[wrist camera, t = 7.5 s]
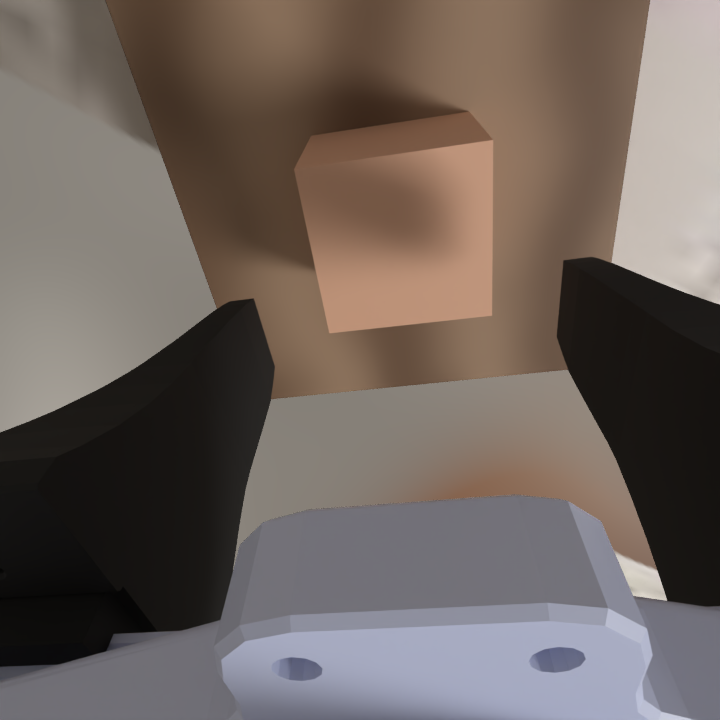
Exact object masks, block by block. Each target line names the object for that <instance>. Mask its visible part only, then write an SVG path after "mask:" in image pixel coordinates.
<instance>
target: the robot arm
mask: <svg viewBox="0 0 720 720" xmlns="http://www.w3.org/2000/svg"><path fill="white" fill-rule="evenodd" d="M557 339H558V342H559V345H560V348H561V351H562V354H563V357H564V360H565V363H566V365H567V368H568V370H569V373H570V374H571V376H572V378H573V380H574V382H575V384H576V386H577V387H578V389H579V391H580V393H581V395H582V397H583V399H584V401H585V402H586V404H587V406H588V408H589V410H590V411H591V413H592V415H593V417H594V419H595V420H596V422H597V424H598V426H599V428H600V429H601V431H602V433H603V435H604V437H605V439H606V440H607V442H608V444H609V446H610V448H611V450H612V452H613V454H614V456H615V458H616V460H617V463H618V465H619V468H620V470H621V473H622V475H623V478H624V480H625V483H626V485H627V488H628V490H629V493H630V495H631V498H632V500H633V503H634V506H635V508H636V511H637V514H638V517H639V519H640V522H641V525H642V527H643V530H644V533H645V535H646V538H647V541H648V544H649V546H650V549H651V553H652V556H653V559H654V561H655V564H656V567H657V570H658V573H659V576H660V579H661V582H662V585H663V588H664V591H665V594H666V598H667V601H664V600H657V599H650V598H643V597H636V596H633V595H632V592H631V590H630V588H629V585H628V583H627V581H626V578H625V576H624V574H623V571H622V569H621V567H620V564H619V562H618V560H617V557H616V555H615V553H614V550H613V548H612V546H611V543H610V541H609V539H608V537H607V534H606V532H605V530H604V527H603V525H602V523H601V521H599V520H598V519H596V518H595V517H593V516H591V515H590V514H588V513H587V512H585V511H583V510H581V509H580V508H578V507H577V506H575V505H573V504H572V503H570V502H568V501H566V500H561V499H554V498H545V497H533V496H524V495H502V496H490V497H474V498H461V499H447V500H433V501H420V502H405V503H392V504H378V505H365V506H352V507H351V506H350V507H337V508H323V509H309V510H305V511H301V512H297V513H293V514H290V515H286V516H282V517H278V518H274V519H271V520H268V521H265V522H263V523H262V524H261V525H260V526H259V527H258V528H257V529H256V530H255V531H253V532H252V533H251V534H250V536H249V537H247V538H246V539H245V540H244V542H242V543H241V545H240V547H239V550H238V554H237V558H236V562H235V566H234V570H233V565H234V558H235V551H236V545H237V538H238V531H239V524H240V518H241V512H242V506H243V501H244V495H245V489H246V485H247V481H248V477H249V473H250V469H251V466H252V463H253V459H254V456H255V453H256V449H257V446H258V442H259V439H260V436H261V432H262V429H263V426H264V422H265V419H266V415H267V412H268V408H269V404H270V401H271V395H272V388H273V380H274V371H275V365H274V362H273V359H272V355H271V352H270V349H269V346H268V343H267V339H266V336H265V333H264V330H263V326H262V323H261V320H260V317H259V314H258V310H257V307H256V304H255V301H254V298H252V299H244V300H236V301H229V302H227V303H226V304H224V305H222V306H221V307H219V308H218V309H216V310H215V311H213V312H212V313H211V314H209V315H208V316H207V317H206V318H204V319H203V320H201V321H200V322H199V323H198V324H196V325H195V326H194V327H192V328H191V329H190V330H188V331H187V332H186V333H184V334H183V335H182V336H181V337H179V338H178V339H177V340H175V341H174V342H173V343H171V344H170V345H168V346H167V347H165V348H164V349H162V350H161V351H160V352H158V353H157V354H155V355H154V356H153V357H151V358H150V359H148V360H147V361H146V362H144V363H142V364H141V365H139V366H138V367H136V368H135V369H133V370H131V371H130V372H128V373H127V374H125V375H123V376H122V377H120V378H118V379H116V380H114V381H113V382H111V383H109V384H108V385H106V386H104V387H102V388H100V389H98V390H96V391H94V392H92V393H90V394H88V395H86V396H84V397H82V398H80V399H78V400H76V401H74V402H72V403H70V404H68V405H66V406H64V407H62V408H59V409H57V410H55V411H53V412H51V413H48V414H46V415H43V416H41V417H39V418H36V419H34V420H32V421H29V422H26V423H24V424H21V425H19V426H16V427H14V428H11V429H9V430H6V431H3V432H1V433H0V720H720V305H719V304H716V303H713V302H710V301H707V300H704V299H701V298H699V297H696V296H693V295H690V294H687V293H684V292H682V291H679V290H676V289H674V288H671V287H669V286H666V285H664V284H661V283H659V282H656V281H654V280H651V279H649V278H647V277H644V276H642V275H639V274H637V273H635V272H632V271H630V270H627V269H625V268H623V267H620V266H618V265H615V264H613V263H610V262H608V261H605V260H602V259H599V258H595V257H585V258H577V259H569V260H563V270H562V281H561V293H560V304H559V315H558V327H557Z"/></svg>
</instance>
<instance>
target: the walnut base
mask: <svg viewBox="0 0 720 720" xmlns="http://www.w3.org/2000/svg"><path fill="white" fill-rule="evenodd" d="M106 3H107V6H108V9H109V11H110V14H111V17H112V20H113V22H114V25H115V28H116V31H117V34H118V36H119V39H120V42H121V45H122V47H123V50H124V53H125V56H126V58H127V61H128V64H129V67H130V69H131V72H132V75H133V78H134V80H135V83H136V86H137V89H138V92H139V94H140V97H141V100H142V103H143V105H144V108H145V111H146V114H147V116H148V119H149V122H150V125H151V127H152V130H153V133H154V136H155V138H156V141H157V144H158V147H159V150H160V152H161V155H162V158H163V161H164V163H165V166H166V169H167V171H168V174H169V177H170V180H171V183H172V185H173V188H174V191H175V194H176V196H177V199H178V202H179V205H180V208H181V210H182V213H183V216H184V219H185V221H186V224H187V227H188V229H189V232H190V235H191V238H192V240H193V243H194V246H195V249H196V251H197V254H198V257H199V260H200V263H201V265H202V268H203V271H204V273H205V276H206V279H207V282H208V285H209V288H210V290H211V293H212V296H213V299H214V301H215V304H216V307H217V309H218V308H219V307H221V306H222V305H224V304H226V303H227V302H229V301H236V300H244V299H252V298H254V301H255V304H256V307H257V310H258V314H259V317H260V320H261V323H262V326H263V330H264V333H265V336H266V339H267V343H268V346H269V349H270V352H271V355H272V359H273V362H274V365H275V371H274V380H273V388H272V395H271V399H276V398H287V397H297V396H307V395H317V394H327V393H337V392H347V391H357V390H368V389H378V388H387V387H397V386H407V385H418V384H427V383H438V382H448V381H458V380H468V379H478V378H487V377H498V376H508V375H517V374H528V373H538V372H548V371H558V370H568V368H567V365H566V363H565V360H564V357H563V354H562V351H561V348H560V345H559V342H558V339H557V327H558V315H559V304H560V293H561V281H562V270H563V260H569V259H577V258H585V257H595V258H599V259H602V260H605V261H608V262H610V263H611V261H612V254H613V247H614V240H615V234H616V227H617V220H618V213H619V207H620V200H621V193H622V186H623V180H624V173H625V166H626V159H627V153H628V146H629V139H630V132H631V126H632V119H633V112H634V105H635V99H636V92H637V85H638V78H639V71H640V65H641V58H642V51H643V44H644V38H645V31H646V24H647V17H648V11H649V4H650V0H106ZM463 112H470V113H471V114H472V115H473V117H474V118H475V119H476V120H477V121H478V122H479V124H480V125H481V126H482V127H483V128H484V130H485V131H486V132H487V133H488V134H489V135H490V137H491V138H492V139H493V263H492V316H485V317H476V318H467V319H457V320H448V321H439V322H430V323H420V324H411V325H402V326H393V327H384V328H374V329H365V330H356V331H347V332H338V333H329V330H328V325H327V320H326V316H325V311H324V306H323V302H322V297H321V292H320V288H319V283H318V279H317V274H316V269H315V265H314V260H313V255H312V251H311V246H310V241H309V237H308V232H307V227H306V223H305V218H304V213H303V209H302V204H301V199H300V195H299V190H298V186H297V181H296V176H295V172H294V168H295V166H296V164H297V162H298V160H299V158H300V156H301V155H302V153H303V151H304V149H305V147H306V145H307V143H308V141H309V139H310V137H311V136H313V135H319V134H326V133H332V132H339V131H345V130H352V129H358V128H365V127H371V126H378V125H384V124H391V123H397V122H404V121H411V120H417V119H424V118H430V117H437V116H443V115H450V114H456V113H463Z"/></svg>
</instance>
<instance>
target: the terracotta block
mask: <svg viewBox="0 0 720 720" xmlns="http://www.w3.org/2000/svg"><path fill="white" fill-rule="evenodd" d="M294 172H295V176H296V181H297V186H298V190H299V195H300V199H301V204H302V209H303V213H304V218H305V223H306V227H307V232H308V237H309V241H310V246H311V251H312V255H313V260H314V265H315V269H316V274H317V279H318V283H319V288H320V292H321V297H322V302H323V306H324V311H325V316H326V320H327V325H328V330H329V333H338V332H347V331H356V330H365V329H374V328H384V327H393V326H402V325H411V324H420V323H430V322H439V321H448V320H457V319H467V318H476V317H485V316H492V263H493V139H492V138H491V137H490V135H489V134H488V133H487V132H486V131H485V130H484V128H483V127H482V126H481V125H480V124H479V122H478V121H477V120H476V119H475V118H474V117H473V115H472V114H471V113H470V112H463V113H456V114H450V115H443V116H437V117H430V118H424V119H417V120H411V121H404V122H397V123H391V124H384V125H378V126H371V127H365V128H358V129H352V130H345V131H339V132H332V133H326V134H319V135H313V136H311V137H310V139H309V141H308V143H307V145H306V147H305V149H304V151H303V153H302V155H301V156H300V158H299V160H298V162H297V164H296V166H295V168H294Z"/></svg>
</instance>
